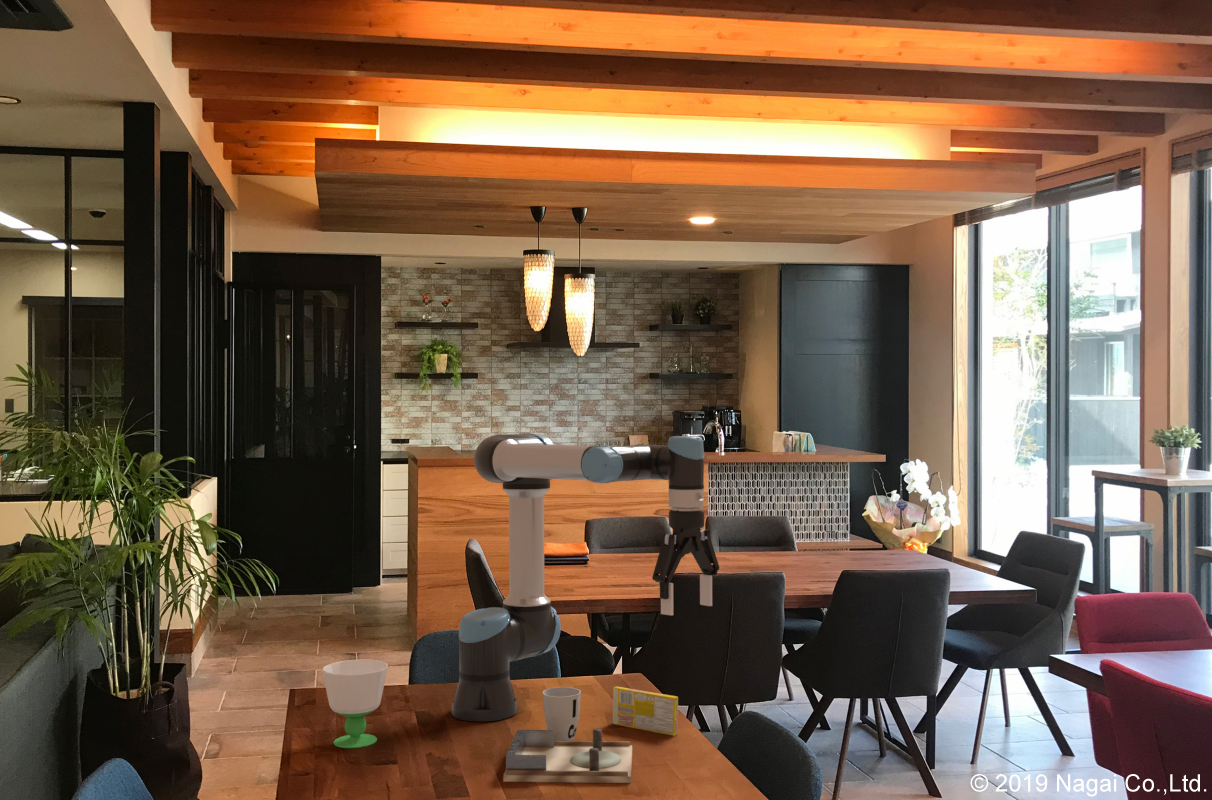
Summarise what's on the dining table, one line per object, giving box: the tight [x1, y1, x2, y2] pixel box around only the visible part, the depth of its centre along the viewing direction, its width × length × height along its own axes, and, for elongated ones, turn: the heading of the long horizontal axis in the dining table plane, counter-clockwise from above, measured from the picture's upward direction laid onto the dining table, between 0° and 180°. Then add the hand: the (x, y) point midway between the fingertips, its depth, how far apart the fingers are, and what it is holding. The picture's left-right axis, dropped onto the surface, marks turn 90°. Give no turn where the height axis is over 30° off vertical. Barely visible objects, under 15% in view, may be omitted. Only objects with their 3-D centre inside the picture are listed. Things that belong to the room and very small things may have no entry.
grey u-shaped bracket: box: [505, 729, 554, 770], centre depth 198 cm, size 8×16×3 cm, turn 178°
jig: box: [502, 728, 633, 784], centre depth 198 cm, size 24×18×5 cm
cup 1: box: [321, 658, 389, 749], centre depth 214 cm, size 14×14×16 cm
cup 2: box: [542, 686, 582, 741], centre depth 215 cm, size 8×8×10 cm
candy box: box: [612, 686, 679, 737], centre depth 222 cm, size 16×2×8 cm, turn 55°
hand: (687, 609), depth 212 cm, fingers open, 13 cm apart
